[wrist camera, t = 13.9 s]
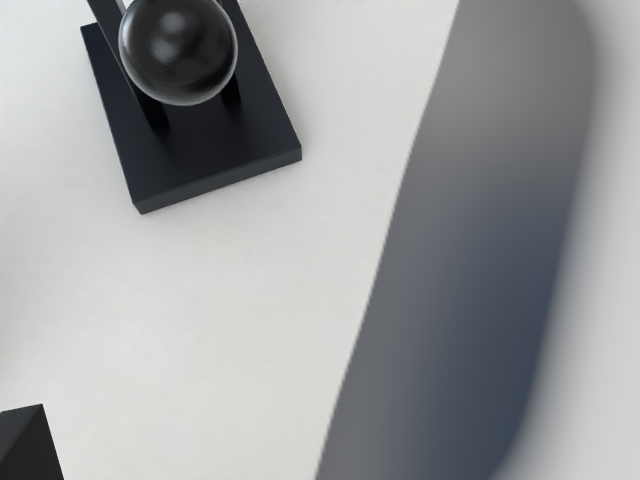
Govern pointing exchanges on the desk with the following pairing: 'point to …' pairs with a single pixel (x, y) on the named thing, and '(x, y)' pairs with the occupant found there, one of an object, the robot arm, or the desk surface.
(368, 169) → the desk surface
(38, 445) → the robot arm
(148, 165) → the switch bracket
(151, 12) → the lever
